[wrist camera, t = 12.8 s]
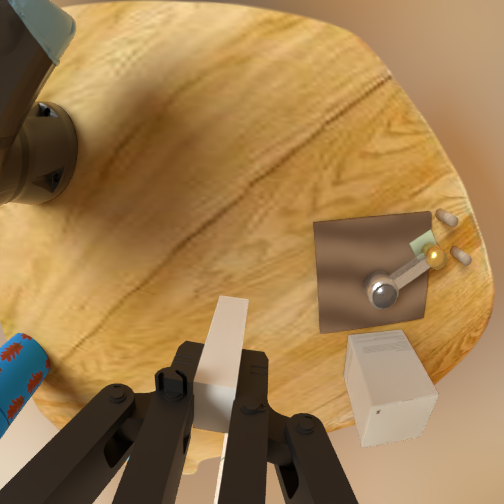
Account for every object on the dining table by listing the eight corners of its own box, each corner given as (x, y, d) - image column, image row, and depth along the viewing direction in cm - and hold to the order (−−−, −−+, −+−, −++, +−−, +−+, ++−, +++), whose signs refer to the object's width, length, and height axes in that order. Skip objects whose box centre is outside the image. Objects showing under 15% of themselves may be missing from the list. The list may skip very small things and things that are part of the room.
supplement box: (342, 378, 48) (358, 450, 34) (347, 333, 45) (370, 406, 31) (394, 372, 47) (421, 438, 33) (403, 327, 44) (440, 394, 30)
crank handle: (371, 302, 42) (378, 317, 38) (357, 281, 41) (365, 294, 37) (439, 255, 39) (451, 266, 35) (428, 232, 38) (441, 241, 34)
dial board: (312, 220, 40) (317, 229, 36) (460, 207, 38) (475, 214, 34) (319, 330, 45) (323, 346, 41) (450, 309, 43) (461, 322, 39)
